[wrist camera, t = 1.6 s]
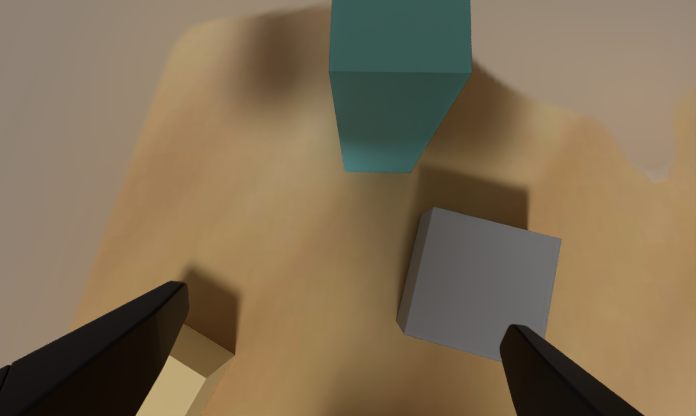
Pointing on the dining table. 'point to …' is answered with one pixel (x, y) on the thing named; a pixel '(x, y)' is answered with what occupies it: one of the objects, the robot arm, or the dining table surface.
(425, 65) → the teal brick
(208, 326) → the dining table surface
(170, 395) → the brick
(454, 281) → the base brick
